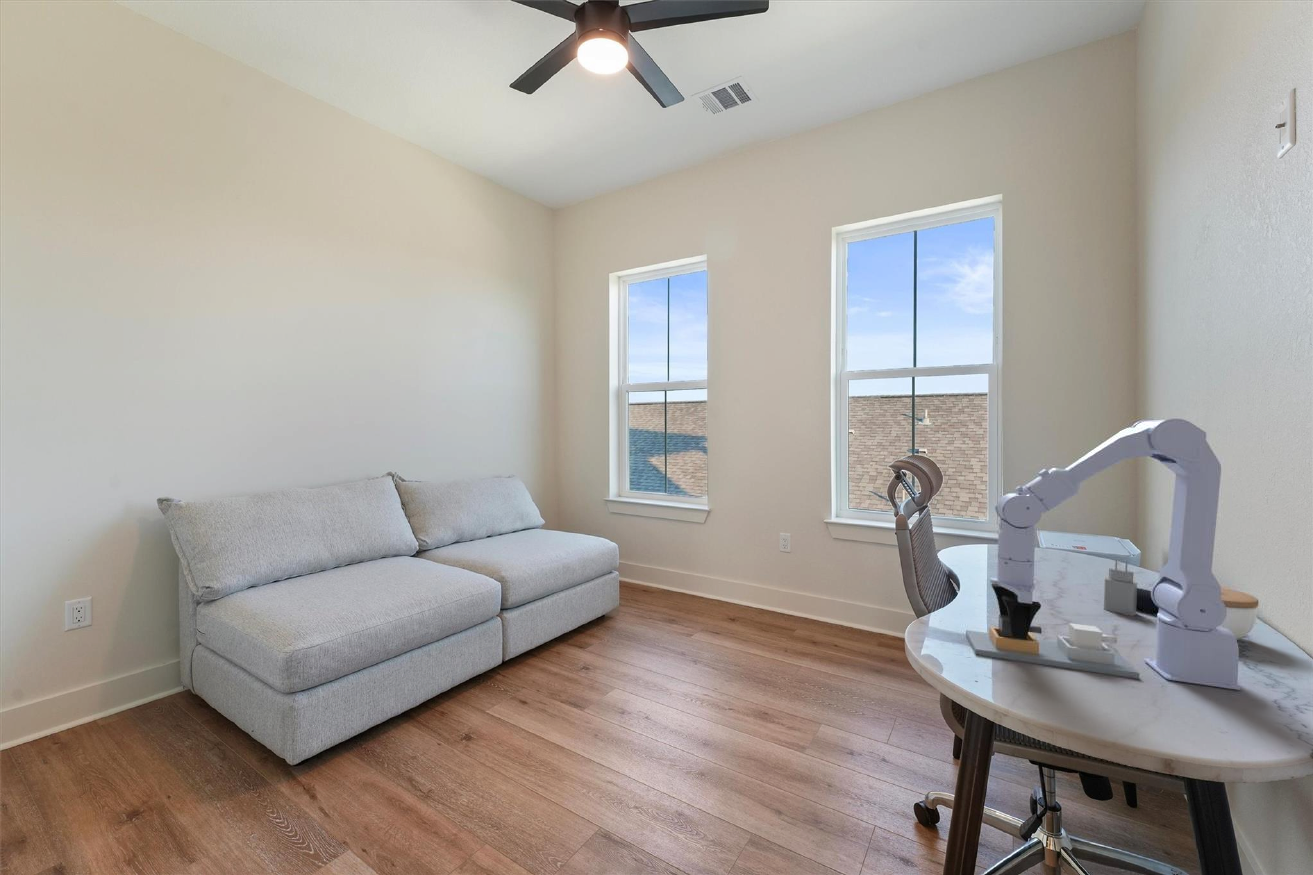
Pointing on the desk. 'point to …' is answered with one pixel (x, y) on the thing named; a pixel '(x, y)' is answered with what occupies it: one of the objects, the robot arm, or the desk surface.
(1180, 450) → the robot arm
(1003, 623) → the dark gray plug
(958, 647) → the desk surface
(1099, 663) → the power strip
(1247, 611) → the white lidded bowl
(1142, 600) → the pipe connector
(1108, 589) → the power adapter
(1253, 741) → the desk surface
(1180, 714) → the desk surface
